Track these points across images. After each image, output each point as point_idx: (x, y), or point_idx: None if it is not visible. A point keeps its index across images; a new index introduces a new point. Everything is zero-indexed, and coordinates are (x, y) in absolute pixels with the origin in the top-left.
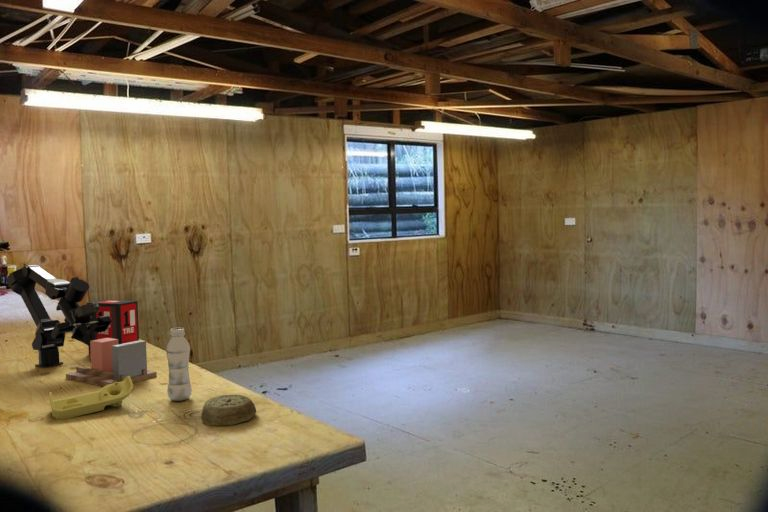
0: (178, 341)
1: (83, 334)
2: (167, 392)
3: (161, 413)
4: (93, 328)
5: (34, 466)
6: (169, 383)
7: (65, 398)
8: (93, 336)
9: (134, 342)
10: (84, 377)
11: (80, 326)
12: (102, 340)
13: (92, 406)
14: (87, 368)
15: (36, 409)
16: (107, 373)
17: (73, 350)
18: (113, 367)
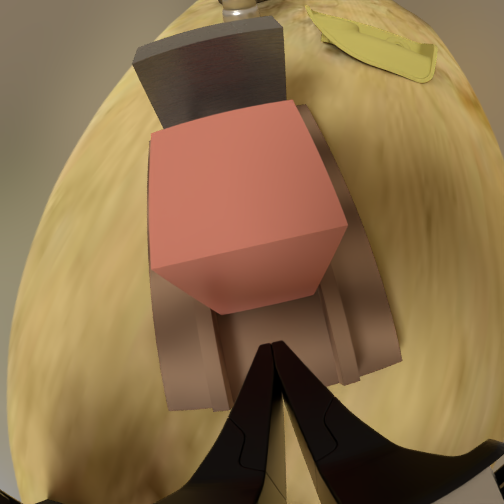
0: None
1: (374, 430)
2: (259, 16)
3: (290, 14)
4: (184, 500)
5: (411, 17)
6: (255, 3)
7: (411, 51)
8: (240, 413)
9: (180, 38)
10: (361, 227)
11: (474, 466)
12: (250, 160)
13: (370, 30)
14: (332, 298)
15: (453, 105)
16: None
17: None
18: (284, 97)
